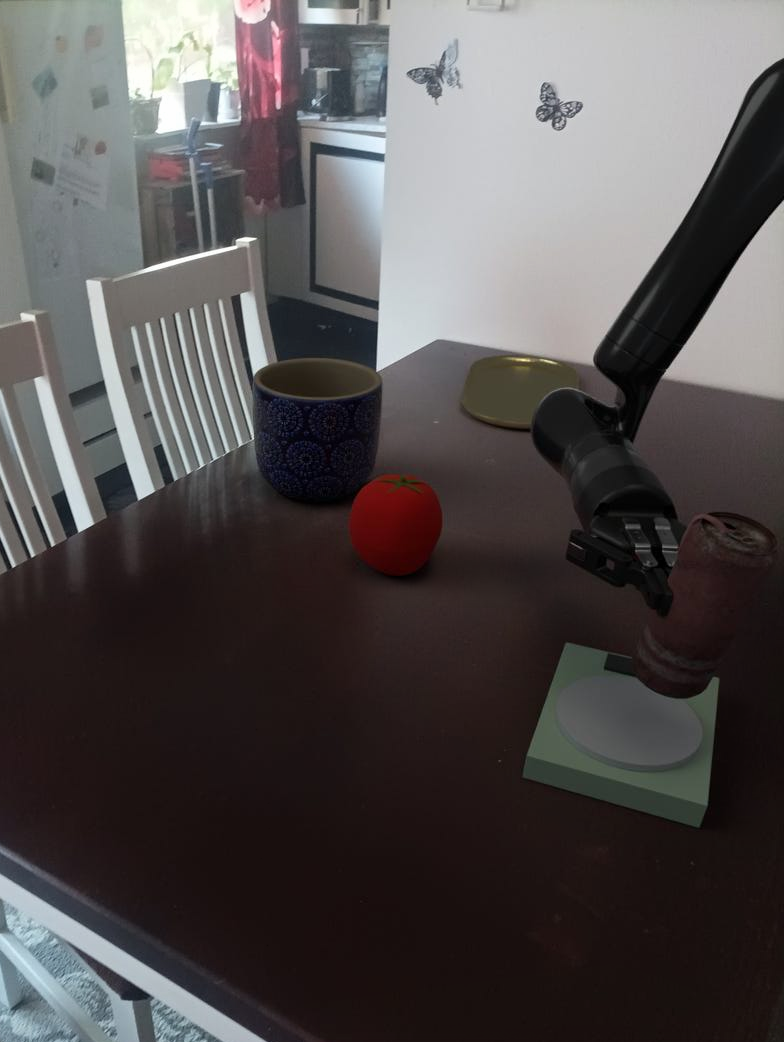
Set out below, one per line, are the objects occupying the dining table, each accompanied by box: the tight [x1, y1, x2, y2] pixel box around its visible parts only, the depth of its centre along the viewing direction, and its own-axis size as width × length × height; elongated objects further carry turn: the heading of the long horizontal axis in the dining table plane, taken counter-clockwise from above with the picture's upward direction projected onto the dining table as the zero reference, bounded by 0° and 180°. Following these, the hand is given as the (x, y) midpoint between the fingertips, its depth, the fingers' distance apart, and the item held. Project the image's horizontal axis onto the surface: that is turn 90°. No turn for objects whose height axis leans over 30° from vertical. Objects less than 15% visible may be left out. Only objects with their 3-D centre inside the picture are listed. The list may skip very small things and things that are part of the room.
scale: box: [522, 641, 720, 829], centre depth 79 cm, size 18×14×3 cm
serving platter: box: [460, 354, 580, 431], centre depth 152 cm, size 19×35×2 cm, turn 166°
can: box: [631, 510, 780, 699], centre depth 68 cm, size 6×6×14 cm
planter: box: [252, 357, 383, 503], centre depth 118 cm, size 17×17×15 cm
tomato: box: [348, 473, 443, 577], centre depth 101 cm, size 10×11×11 cm
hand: (674, 606), depth 67 cm, fingers closed
